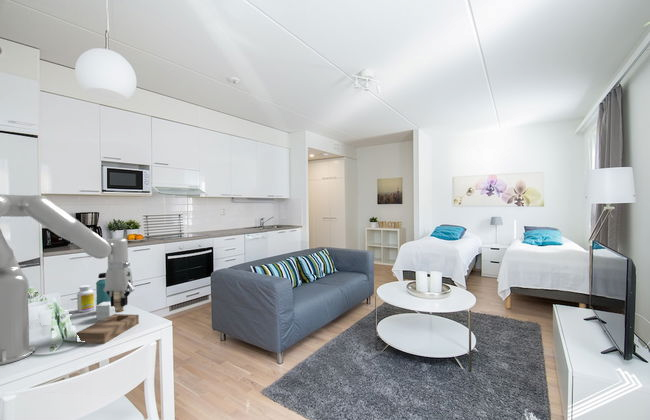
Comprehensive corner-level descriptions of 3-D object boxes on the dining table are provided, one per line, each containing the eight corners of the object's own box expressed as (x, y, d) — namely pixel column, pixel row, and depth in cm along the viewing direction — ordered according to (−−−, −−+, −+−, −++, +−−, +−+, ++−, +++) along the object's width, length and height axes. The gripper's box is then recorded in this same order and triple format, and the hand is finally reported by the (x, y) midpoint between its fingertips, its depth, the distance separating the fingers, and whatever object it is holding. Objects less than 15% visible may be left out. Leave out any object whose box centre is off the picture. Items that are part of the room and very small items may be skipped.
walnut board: (104, 343, 121) (104, 333, 120) (76, 342, 121) (76, 332, 121) (138, 323, 141) (138, 314, 140) (114, 322, 141) (114, 314, 141)
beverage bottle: (103, 314, 152) (102, 275, 151) (92, 313, 153) (92, 274, 152) (115, 309, 158) (114, 272, 157) (104, 308, 159) (103, 271, 159)
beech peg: (120, 313, 134) (119, 290, 134) (111, 312, 134) (110, 290, 134) (127, 309, 138) (126, 288, 138) (118, 309, 139) (117, 288, 138)
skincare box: (116, 315, 150) (116, 300, 150) (109, 320, 144) (109, 305, 144) (103, 316, 150) (103, 301, 149) (96, 320, 143) (95, 305, 143)
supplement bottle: (97, 308, 160) (96, 284, 159) (84, 313, 153) (83, 288, 153) (87, 307, 161) (86, 283, 161) (74, 312, 155) (73, 287, 154)
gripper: (141, 264, 139) (142, 303, 139) (107, 263, 140) (108, 302, 141) (129, 267, 131) (131, 308, 132) (93, 267, 132) (94, 308, 133)
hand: (119, 305), depth 136 cm, fingers closed on beech peg, 4 cm apart
